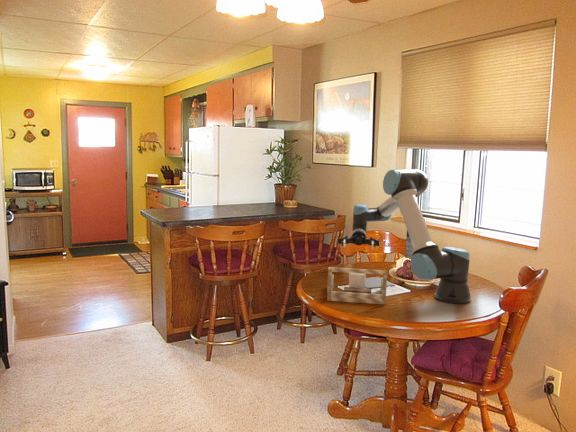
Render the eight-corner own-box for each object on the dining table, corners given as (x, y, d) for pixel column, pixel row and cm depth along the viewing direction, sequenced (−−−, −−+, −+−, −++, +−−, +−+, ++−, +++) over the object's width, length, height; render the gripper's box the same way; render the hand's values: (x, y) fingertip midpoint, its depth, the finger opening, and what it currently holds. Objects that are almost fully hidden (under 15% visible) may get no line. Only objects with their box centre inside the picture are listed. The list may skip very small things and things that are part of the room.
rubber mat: (394, 285, 233) (394, 284, 232) (367, 288, 227) (367, 287, 227) (378, 277, 246) (378, 276, 246) (352, 280, 241) (352, 279, 241)
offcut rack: (383, 289, 226) (385, 259, 224) (385, 304, 205) (387, 271, 203) (330, 286, 230) (331, 256, 228) (327, 300, 209) (328, 267, 207)
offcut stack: (371, 298, 214) (372, 288, 213) (372, 302, 208) (372, 292, 208) (340, 296, 216) (340, 286, 215) (340, 300, 210) (340, 290, 210)
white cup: (364, 296, 216) (365, 275, 214) (347, 295, 217) (348, 274, 216) (365, 291, 223) (366, 270, 222) (348, 290, 225) (349, 269, 223)
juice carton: (412, 267, 268) (414, 225, 264) (425, 269, 264) (427, 227, 260) (404, 272, 258) (407, 228, 254) (418, 274, 254) (420, 230, 250)
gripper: (382, 245, 248) (384, 255, 227) (334, 242, 252) (331, 251, 231) (383, 231, 247) (385, 239, 226) (335, 228, 250) (332, 236, 230)
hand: (358, 245), depth 228 cm, fingers open, 13 cm apart
